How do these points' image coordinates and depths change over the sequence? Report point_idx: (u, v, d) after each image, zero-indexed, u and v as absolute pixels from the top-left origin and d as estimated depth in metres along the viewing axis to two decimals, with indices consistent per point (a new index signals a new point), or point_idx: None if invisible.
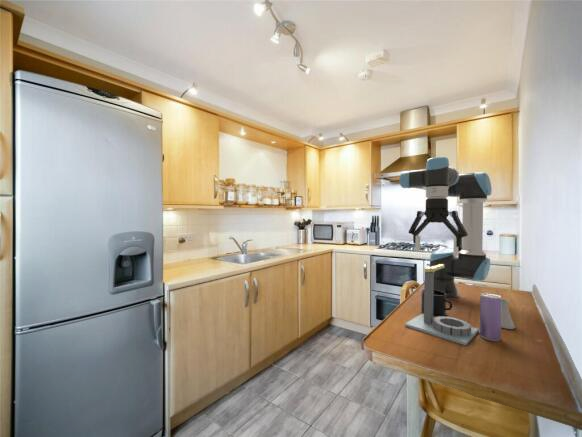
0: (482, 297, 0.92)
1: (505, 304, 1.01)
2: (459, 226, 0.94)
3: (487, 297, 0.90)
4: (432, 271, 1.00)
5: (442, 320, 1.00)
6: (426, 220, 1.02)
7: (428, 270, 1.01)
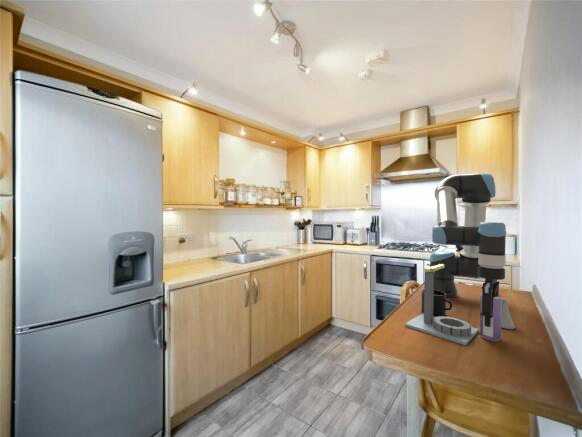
0: None
1: (505, 304, 1.01)
2: None
3: None
4: (432, 271, 1.00)
5: (442, 320, 1.00)
6: None
7: (428, 270, 1.01)
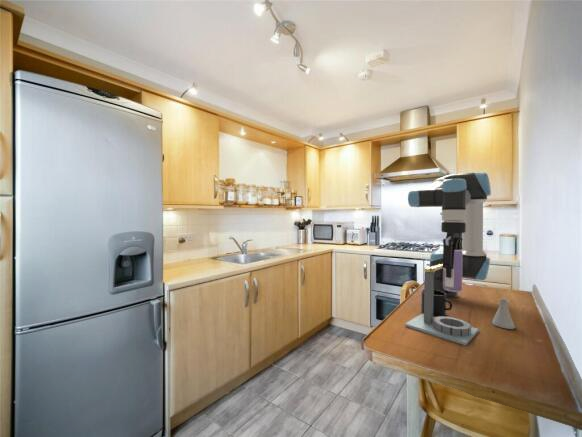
0: None
1: (505, 304, 1.01)
2: None
3: None
4: (432, 271, 1.00)
5: (442, 320, 1.00)
6: None
7: (428, 270, 1.01)
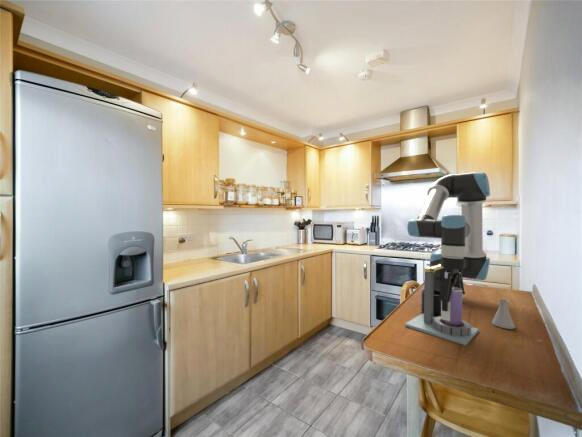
0: None
1: (505, 304, 1.01)
2: None
3: None
4: (432, 271, 1.00)
5: (442, 320, 1.00)
6: None
7: (428, 270, 1.01)
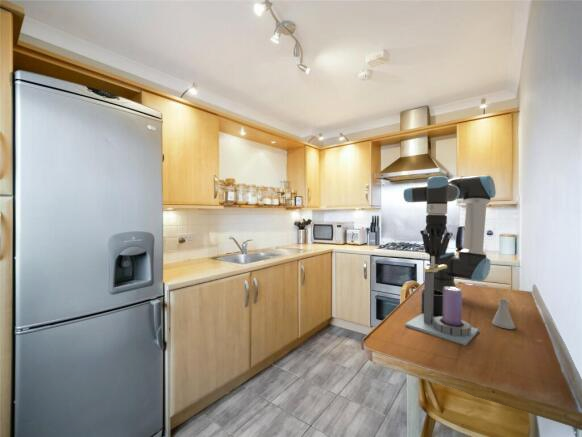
0: (444, 290, 0.96)
1: (505, 304, 1.01)
2: (442, 246, 1.04)
3: (448, 290, 0.95)
4: (432, 271, 1.00)
5: None
6: (430, 236, 1.09)
7: (428, 270, 1.01)
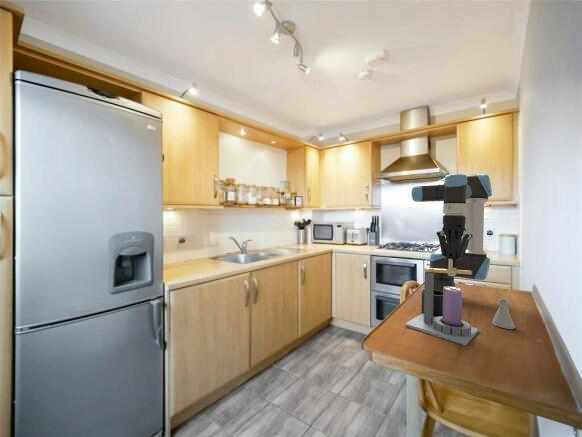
0: (445, 290, 0.96)
1: (505, 304, 1.01)
2: (461, 249, 0.98)
3: (449, 290, 0.94)
4: (427, 271, 1.01)
5: None
6: (447, 238, 1.02)
7: (424, 269, 1.02)
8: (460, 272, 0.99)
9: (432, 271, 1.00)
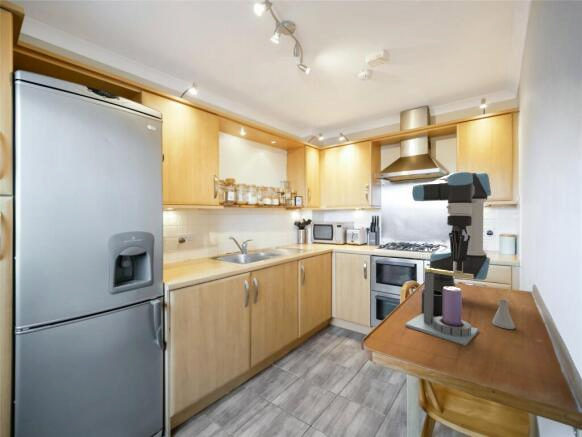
0: (444, 290, 0.96)
1: (505, 304, 1.01)
2: (459, 250, 0.93)
3: (448, 290, 0.95)
4: (425, 270, 1.02)
5: None
6: (452, 239, 0.98)
7: (424, 269, 1.03)
8: (459, 275, 0.94)
9: (429, 271, 1.00)
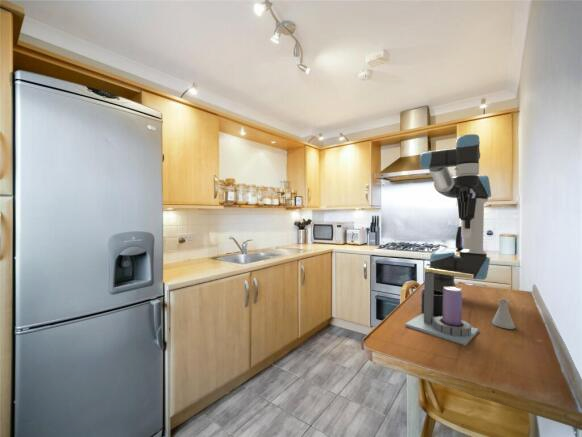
0: (445, 290, 0.96)
1: (505, 304, 1.01)
2: (467, 208, 0.98)
3: (449, 290, 0.94)
4: (425, 270, 1.02)
5: None
6: (460, 199, 1.03)
7: (424, 269, 1.03)
8: (459, 275, 0.94)
9: (429, 271, 1.00)
